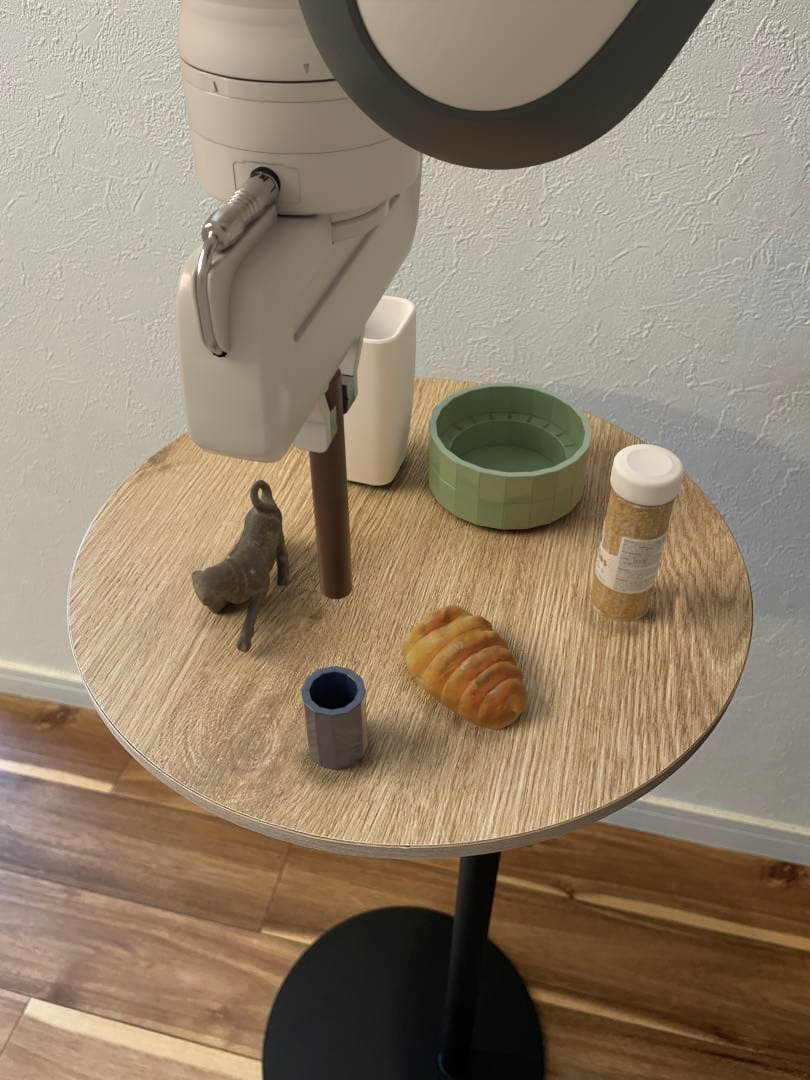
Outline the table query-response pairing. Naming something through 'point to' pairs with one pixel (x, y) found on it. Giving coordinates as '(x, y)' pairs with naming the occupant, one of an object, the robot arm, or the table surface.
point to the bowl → (508, 455)
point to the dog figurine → (248, 564)
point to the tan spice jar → (634, 530)
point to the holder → (335, 717)
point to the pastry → (466, 667)
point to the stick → (332, 505)
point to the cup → (382, 394)
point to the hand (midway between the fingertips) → (326, 423)
